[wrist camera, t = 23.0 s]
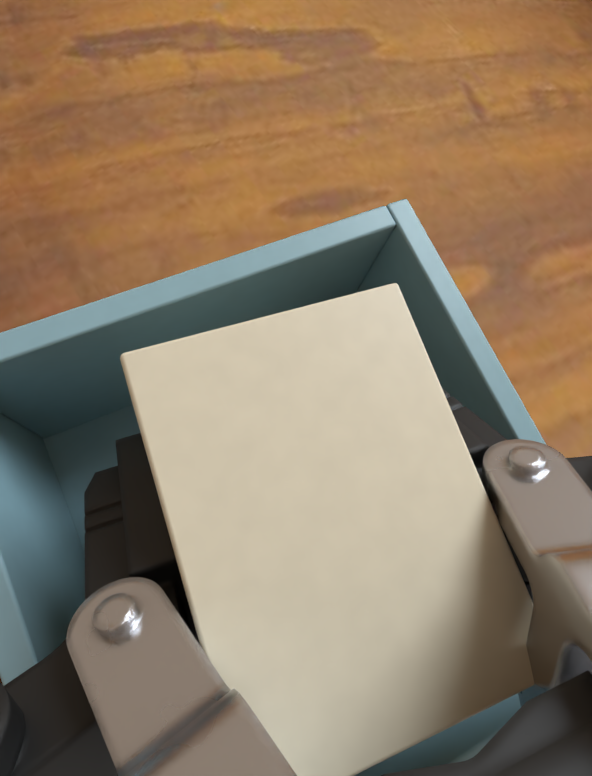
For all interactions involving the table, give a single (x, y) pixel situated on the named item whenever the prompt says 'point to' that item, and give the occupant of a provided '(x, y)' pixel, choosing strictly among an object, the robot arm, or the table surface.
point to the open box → (118, 420)
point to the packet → (332, 529)
